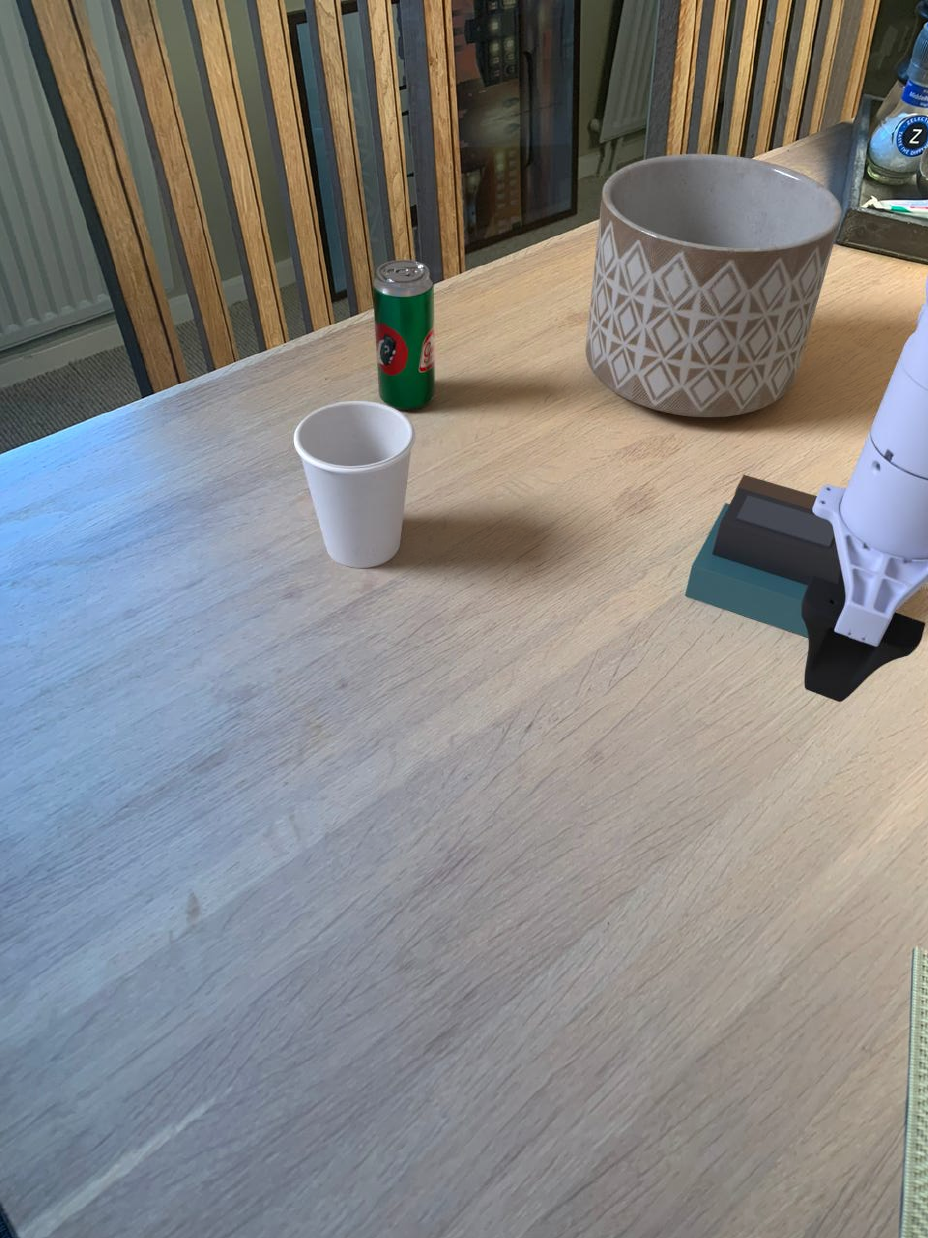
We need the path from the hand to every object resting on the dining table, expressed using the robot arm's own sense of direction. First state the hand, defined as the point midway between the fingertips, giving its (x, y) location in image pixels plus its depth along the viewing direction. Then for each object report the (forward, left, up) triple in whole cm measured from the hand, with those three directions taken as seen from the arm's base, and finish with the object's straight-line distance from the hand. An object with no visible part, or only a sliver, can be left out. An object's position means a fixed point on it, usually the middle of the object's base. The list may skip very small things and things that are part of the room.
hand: (840, 645), depth 55 cm
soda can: (+41, -23, -10) cm, 48 cm away
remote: (+5, -14, -6) cm, 16 cm away
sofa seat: (+5, -14, -9) cm, 18 cm away
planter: (+20, -39, -10) cm, 45 cm away
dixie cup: (+34, -4, -10) cm, 36 cm away
